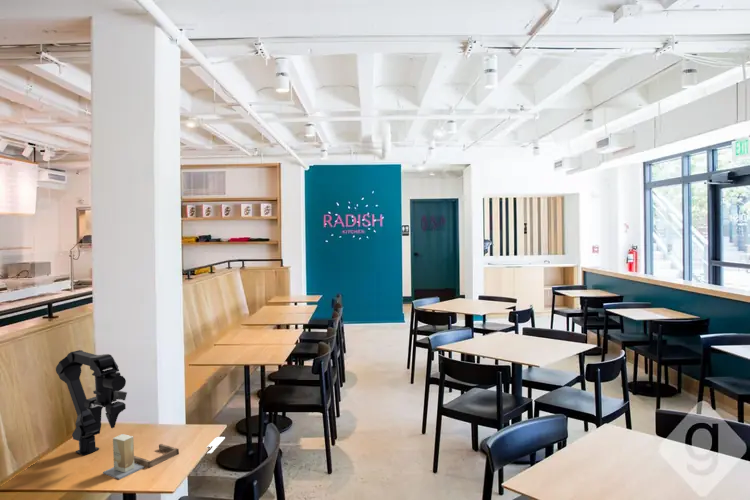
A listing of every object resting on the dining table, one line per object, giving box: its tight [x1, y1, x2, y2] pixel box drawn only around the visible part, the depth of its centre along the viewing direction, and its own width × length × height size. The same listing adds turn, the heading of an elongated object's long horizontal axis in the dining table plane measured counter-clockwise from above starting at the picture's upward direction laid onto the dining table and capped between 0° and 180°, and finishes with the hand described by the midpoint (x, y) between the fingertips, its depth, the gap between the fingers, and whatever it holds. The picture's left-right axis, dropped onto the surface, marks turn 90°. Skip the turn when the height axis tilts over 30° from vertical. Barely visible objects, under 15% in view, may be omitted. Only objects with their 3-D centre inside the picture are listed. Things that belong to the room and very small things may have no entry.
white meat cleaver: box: [205, 436, 226, 455], centre depth 206 cm, size 5×15×1 cm, turn 175°
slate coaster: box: [102, 463, 145, 480], centre depth 187 cm, size 10×10×1 cm
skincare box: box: [112, 433, 135, 472], centre depth 186 cm, size 6×4×12 cm
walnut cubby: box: [134, 443, 180, 468], centre depth 197 cm, size 11×13×2 cm
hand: (105, 425), depth 197 cm, fingers open, 9 cm apart
